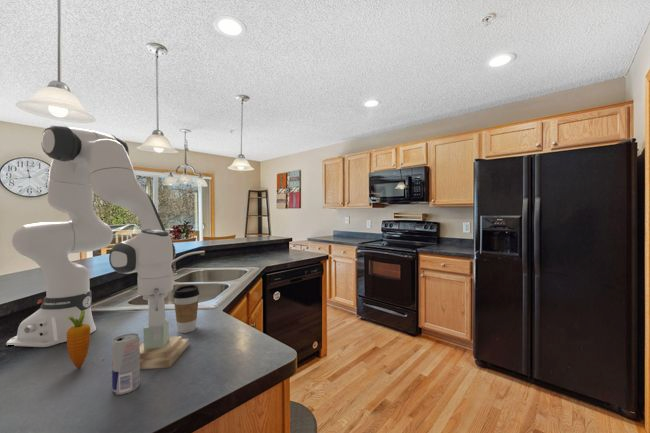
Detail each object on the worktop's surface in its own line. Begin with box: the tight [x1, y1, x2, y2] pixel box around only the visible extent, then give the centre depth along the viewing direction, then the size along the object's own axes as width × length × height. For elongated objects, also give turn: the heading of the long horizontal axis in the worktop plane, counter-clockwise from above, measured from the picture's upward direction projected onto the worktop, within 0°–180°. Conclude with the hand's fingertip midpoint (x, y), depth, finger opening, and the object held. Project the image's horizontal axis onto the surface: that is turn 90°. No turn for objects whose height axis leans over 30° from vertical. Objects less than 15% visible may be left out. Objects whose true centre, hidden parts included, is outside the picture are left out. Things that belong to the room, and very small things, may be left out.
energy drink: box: [111, 333, 141, 396], centre depth 66 cm, size 5×5×12 cm
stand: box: [140, 335, 190, 370], centre depth 81 cm, size 13×13×4 cm
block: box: [143, 319, 170, 350], centre depth 81 cm, size 5×5×6 cm
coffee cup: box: [172, 284, 200, 334], centre depth 100 cm, size 8×8×15 cm
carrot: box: [66, 311, 91, 369], centre depth 75 cm, size 5×5×15 cm
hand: (156, 333), depth 81 cm, fingers open, 8 cm apart
